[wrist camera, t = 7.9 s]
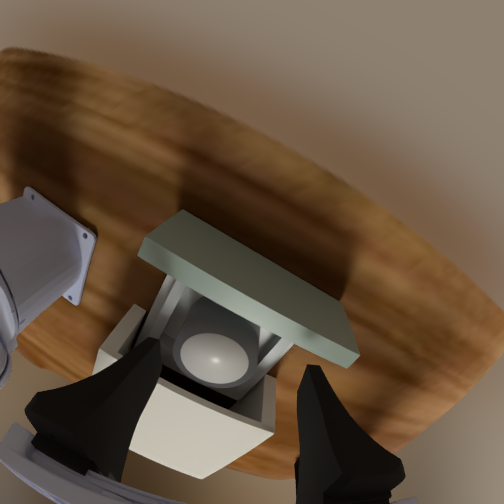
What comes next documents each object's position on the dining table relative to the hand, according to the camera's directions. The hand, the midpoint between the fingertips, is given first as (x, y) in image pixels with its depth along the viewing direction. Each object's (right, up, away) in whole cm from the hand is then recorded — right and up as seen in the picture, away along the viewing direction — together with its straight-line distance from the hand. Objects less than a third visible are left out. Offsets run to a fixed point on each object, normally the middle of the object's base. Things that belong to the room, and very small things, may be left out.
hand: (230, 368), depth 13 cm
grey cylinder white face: (-1, 0, +8) cm, 8 cm away
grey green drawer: (-1, 0, +9) cm, 9 cm away
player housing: (-6, -8, +13) cm, 16 cm away
